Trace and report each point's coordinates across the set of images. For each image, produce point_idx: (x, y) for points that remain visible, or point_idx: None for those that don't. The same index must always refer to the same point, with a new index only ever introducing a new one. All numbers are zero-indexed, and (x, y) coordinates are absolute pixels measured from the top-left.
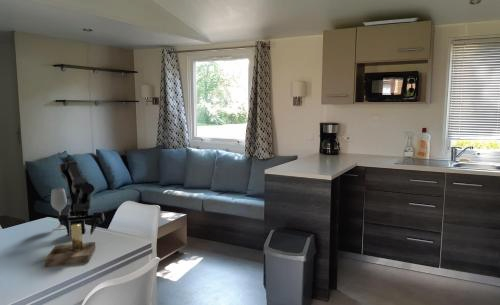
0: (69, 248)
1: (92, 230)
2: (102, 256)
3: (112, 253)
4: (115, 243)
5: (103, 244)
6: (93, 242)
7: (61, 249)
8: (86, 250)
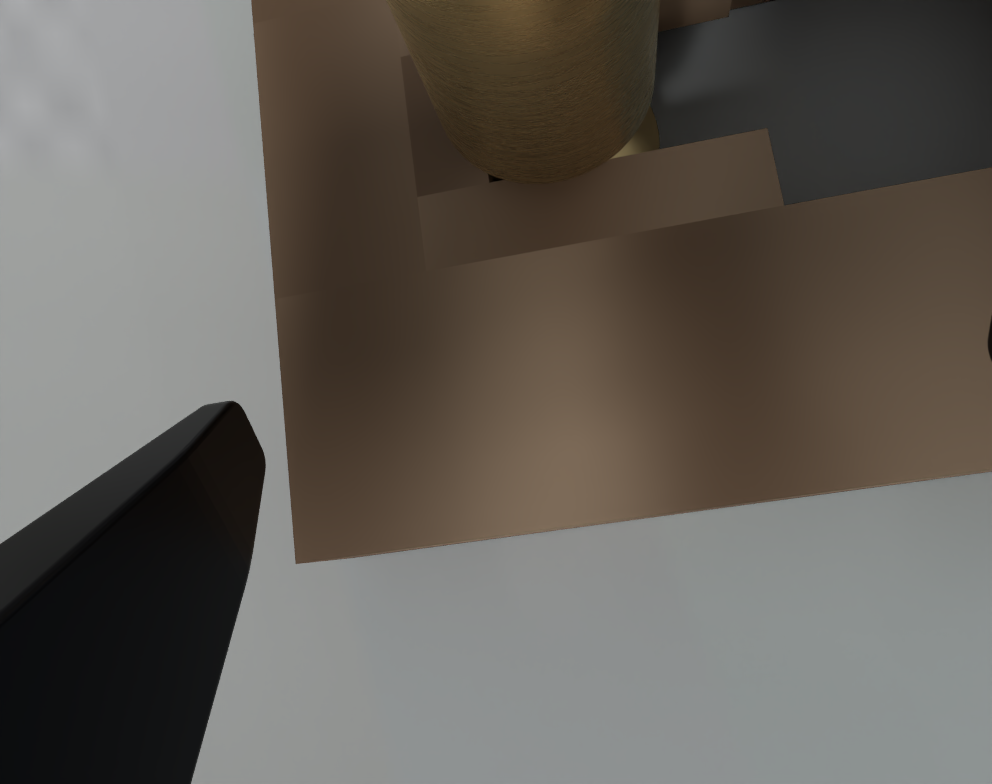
0: (792, 206)
1: (123, 479)
2: (137, 136)
3: (4, 251)
4: None
5: (244, 764)
6: (323, 517)
7: (981, 176)
8: (339, 39)
